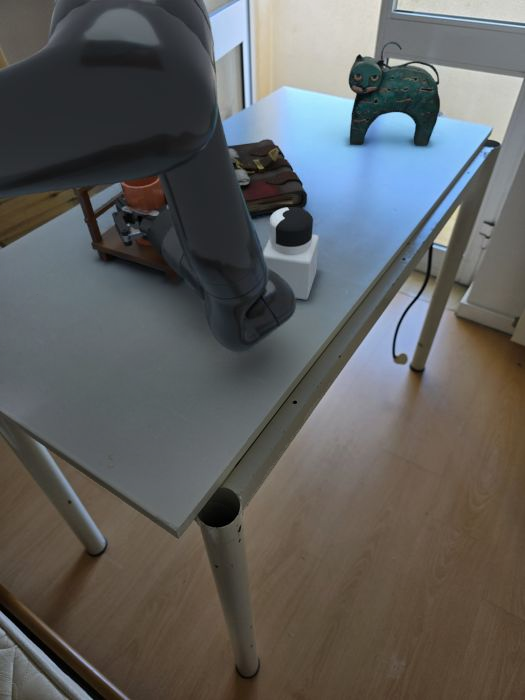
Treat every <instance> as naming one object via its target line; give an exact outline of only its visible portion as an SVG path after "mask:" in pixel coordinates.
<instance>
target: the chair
mask: <svg viewBox="0 0 525 700" xmlns="http://www.w3.org/2000/svg"><path fill="white" fill-rule="evenodd" d="M96 187H97V186H91V187H82V188H74V189H72V192H73V195H74V196H76V197H77V199H78V202H79V205H80V208H81V211H82V215H83V217H84V218H83V221H84V223H85V224H86V226H87V229H88V232H89V235H90V238H91V242H90V244H91V247H92V249H93V250H94V251H97V254H98V256H99V260H101V261H105V262H109V261H110V260H112V258H114V257H117V258H121V259H124V260H128V261H131V262H133V263H137V264H140V265H144V266H147V267H150V268H153V269H157V270H159V271H163V272H164V273H165V277H166V281H168V282H171V283H174V284H176V283H177V282H178V281H179V280H180V279H181V278H182V277H181V276H179V275H178V274H177V273H176V272H175V271H174V270H173V269H172V268H171V267H170V266H168V265H167V263H166V262H165V260H164V259H163V258H162V257H161V255H160V254H159V253H158V252H157V251H156V250H155V249H154V247H153V246H146V245H142V244H139V243H138V242H137V241H136V240H132V243H133V244H132V245H131V246H124V244H123V242H122V240H121V238H120V236H119V234H118V232H117V230H116V227H115V223H114V224H112V226H110V227H109V228H108V229H107V230H106V231H104V232H102V233H101V230H100V227H99V224H98V220H97V219H98V218H100V217H101V216H102V215H103V214H104V213H106V212H108V211H109V210H110V209H112V207H114V206H116V205H115V201H117V197H119V196H122V198H123V199H124V195H123V191H122V190H121V191H119V192H118V193H117V194H116V195H114V196H113V197H112V198H110V199H109V200H107V201H106V202H105V203H103V204H101V206H99V207H97V208H96V209H95V210H94V208H93V204H92V200H91V199H90V198H91V197H90V194H89V192H90V191H91V190H93V189H94V188H96ZM126 225H127V224H126ZM130 227H132V226H130Z"/></svg>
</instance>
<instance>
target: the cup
mask: <svg viewBox="0 0 525 700" xmlns="http://www.w3.org/2000/svg"><path fill="white" fill-rule="evenodd" d="M120 188H121V191H123V195H124V198H123V199H124V200H125V201H126V202H127V203H128V204H129V205H130V207H132V208H135V209H136V208H137V207H141V208H144V209H147V210H152V209H157V208H159V207H161V206H164V205H166V199H165V195H164V191H163V189H162V186H161V183H160V180H159V177H158V175H157V176H153V177H149V178H144V179H139V180H133V181H128V182H121V183H120ZM166 206H167V205H166ZM133 219H134V217H133ZM132 227H133V226H132ZM133 228H134V229H136V228H135V227H133ZM135 240H136V241H137V242H138V243H139V244H142V245H146V246H152V245H151V243H150V242H149V241H146V240H144V239H142V238H138V239H135Z"/></svg>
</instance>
